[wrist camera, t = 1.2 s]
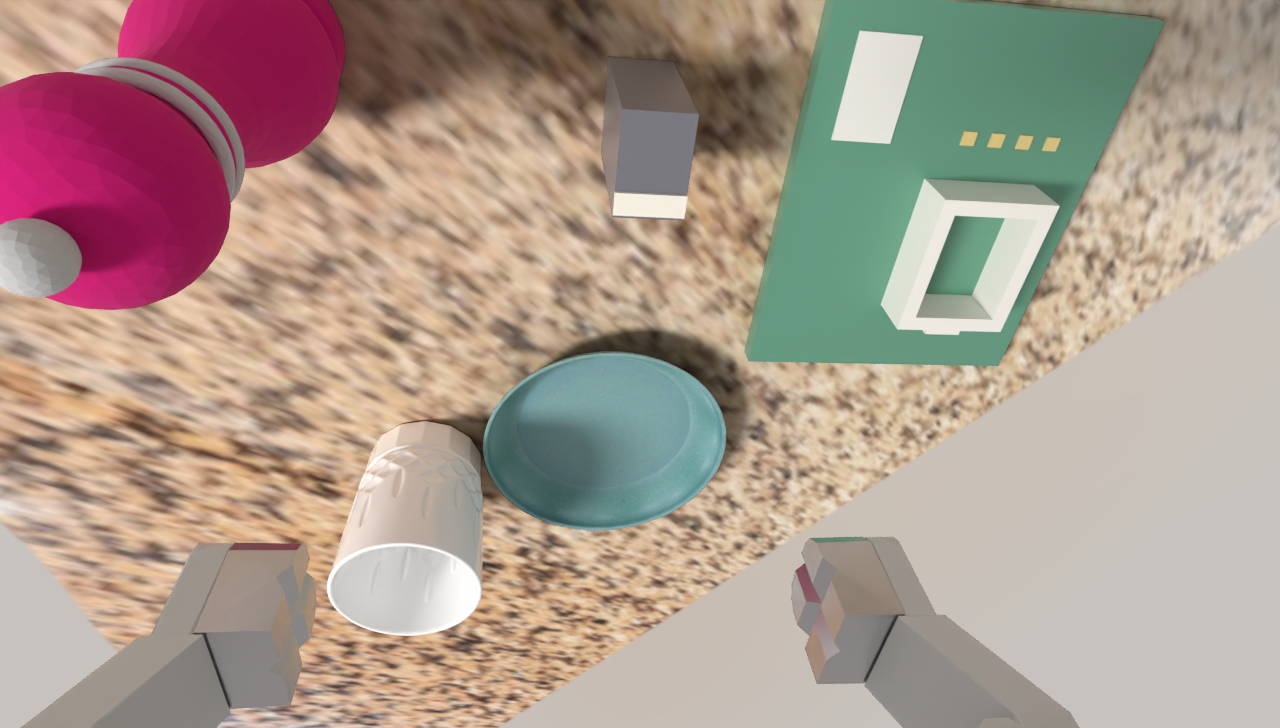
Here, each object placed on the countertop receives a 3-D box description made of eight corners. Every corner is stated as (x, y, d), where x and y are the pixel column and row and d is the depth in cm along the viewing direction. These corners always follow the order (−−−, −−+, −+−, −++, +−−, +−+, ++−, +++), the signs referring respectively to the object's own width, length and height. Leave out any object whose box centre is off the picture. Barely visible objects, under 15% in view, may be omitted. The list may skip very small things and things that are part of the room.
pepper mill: (393, 48, 33) (263, 289, 17) (287, 151, 35) (85, 449, 19) (246, -104, 29) (-96, 28, 13) (137, 23, 31) (-267, 265, 16)
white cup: (510, 481, 50) (505, 613, 42) (400, 515, 51) (375, 650, 43) (457, 396, 45) (440, 526, 37) (337, 435, 46) (295, 570, 38)
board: (829, -15, 33) (855, 3, 31) (1151, 16, 36) (1202, 35, 33) (744, 351, 45) (758, 388, 43) (990, 356, 48) (1018, 391, 45)
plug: (608, 56, 34) (622, 110, 29) (673, 61, 35) (699, 115, 29) (601, 152, 37) (612, 218, 31) (661, 156, 37) (683, 222, 32)
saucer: (487, 318, 42) (485, 346, 40) (741, 333, 45) (751, 359, 43) (483, 500, 51) (480, 531, 49) (695, 503, 53) (702, 532, 51)
